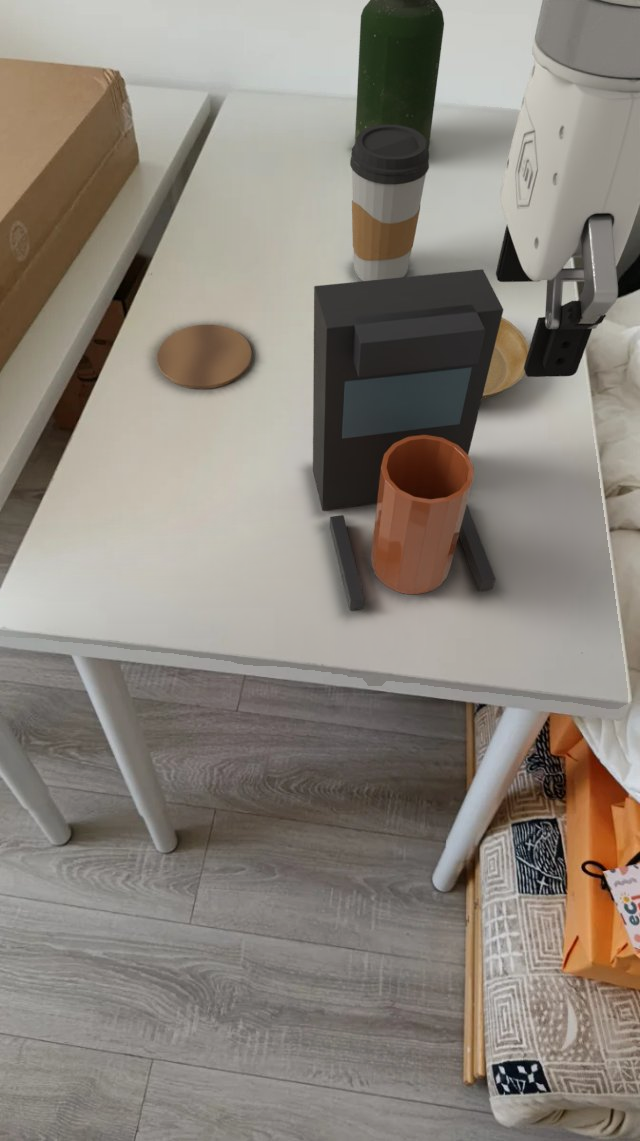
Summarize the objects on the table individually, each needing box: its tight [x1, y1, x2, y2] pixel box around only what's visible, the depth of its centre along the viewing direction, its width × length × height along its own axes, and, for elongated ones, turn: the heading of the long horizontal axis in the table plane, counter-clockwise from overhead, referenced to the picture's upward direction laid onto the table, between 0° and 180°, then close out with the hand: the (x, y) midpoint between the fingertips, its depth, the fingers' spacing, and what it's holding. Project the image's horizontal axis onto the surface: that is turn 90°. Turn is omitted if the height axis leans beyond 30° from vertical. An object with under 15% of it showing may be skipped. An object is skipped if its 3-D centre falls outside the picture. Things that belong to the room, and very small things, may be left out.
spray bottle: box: [354, 0, 445, 151], centre depth 98 cm, size 10×10×25 cm
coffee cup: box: [349, 124, 430, 281], centre depth 86 cm, size 8×8×15 cm
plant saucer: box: [482, 317, 530, 400], centre depth 81 cm, size 15×15×3 cm
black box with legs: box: [312, 268, 504, 611], centre depth 61 cm, size 13×16×20 cm
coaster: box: [156, 324, 253, 390], centre depth 82 cm, size 10×10×1 cm
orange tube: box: [370, 435, 475, 595], centre depth 63 cm, size 7×7×12 cm
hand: (532, 323), depth 51 cm, fingers open, 9 cm apart
